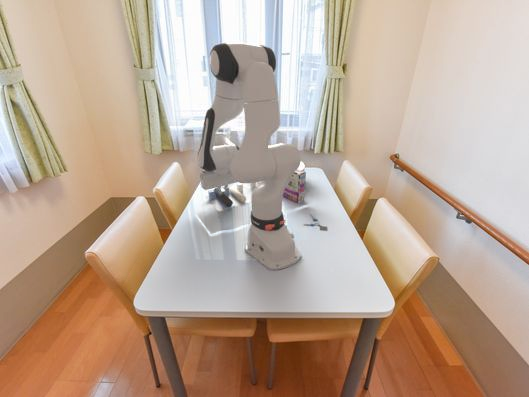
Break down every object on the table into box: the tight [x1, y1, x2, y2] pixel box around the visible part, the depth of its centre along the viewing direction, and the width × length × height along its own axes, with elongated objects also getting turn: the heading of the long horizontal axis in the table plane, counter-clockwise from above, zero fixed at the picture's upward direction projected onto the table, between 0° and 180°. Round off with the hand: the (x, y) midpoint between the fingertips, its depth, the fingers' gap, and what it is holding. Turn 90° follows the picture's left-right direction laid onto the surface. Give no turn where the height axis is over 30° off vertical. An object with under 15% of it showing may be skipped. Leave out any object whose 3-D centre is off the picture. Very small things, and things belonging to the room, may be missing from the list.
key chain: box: [303, 214, 329, 232], centre depth 117 cm, size 14×8×1 cm, turn 28°
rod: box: [228, 186, 246, 202], centre depth 137 cm, size 14×3×3 cm, turn 32°
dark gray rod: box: [213, 187, 233, 207], centre depth 133 cm, size 16×4×4 cm, turn 32°
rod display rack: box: [205, 182, 257, 212], centre depth 137 cm, size 18×28×6 cm, turn 122°
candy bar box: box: [283, 169, 307, 204], centre depth 133 cm, size 11×5×16 cm, turn 42°
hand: (223, 193), depth 131 cm, fingers closed
